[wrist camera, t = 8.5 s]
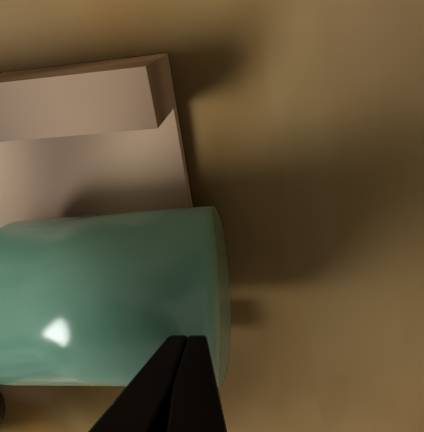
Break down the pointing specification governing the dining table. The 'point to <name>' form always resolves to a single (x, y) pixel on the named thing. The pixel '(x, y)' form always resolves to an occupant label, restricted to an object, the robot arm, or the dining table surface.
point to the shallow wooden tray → (90, 140)
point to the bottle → (110, 294)
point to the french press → (1, 408)
